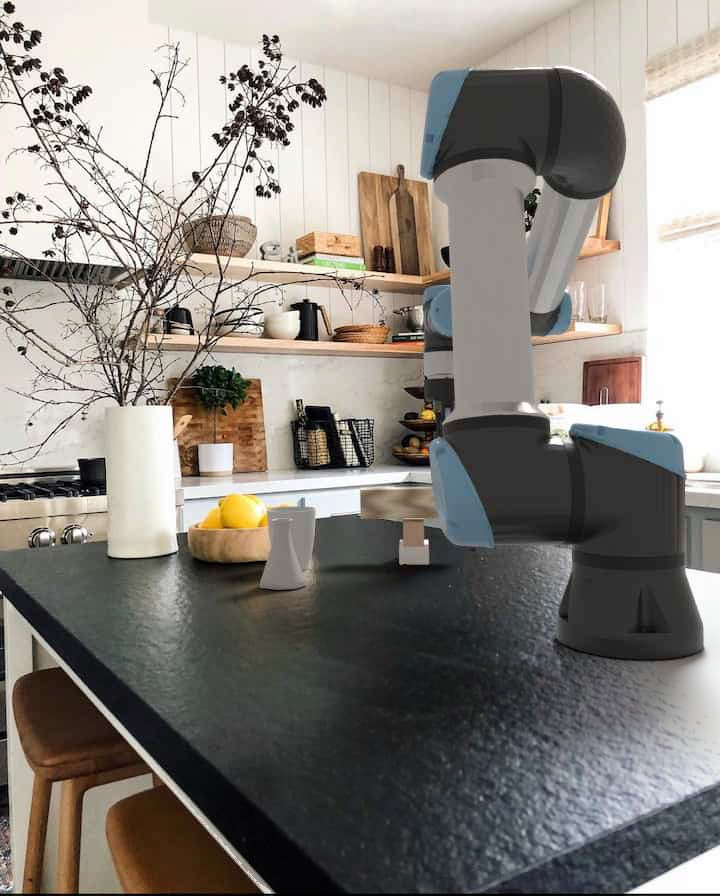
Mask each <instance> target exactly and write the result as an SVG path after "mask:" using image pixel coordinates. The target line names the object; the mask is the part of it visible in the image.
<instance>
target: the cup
mask: <svg viewBox="0 0 720 896" xmlns="http://www.w3.org/2000/svg"><path fill="white" fill-rule="evenodd" d="M316 510H317V509H316V507H312V506H296V505H295V506H280V507H271V508H267V509H266V518H267V531H268V538H269V543H270V547H271V546H272V540H273V525H272V523H271V520H272V519H281V518H287V519H292V523H291V524H290V533H291V539H292V544H293V548H294V551H295V553H296V556H297V559H298V562H299V565H300V568H301V570H302V572H304V571H307V570H308V568H309V565H310V562H311V558H312V554H313V550H314V540H315V534H316Z"/></svg>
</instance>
